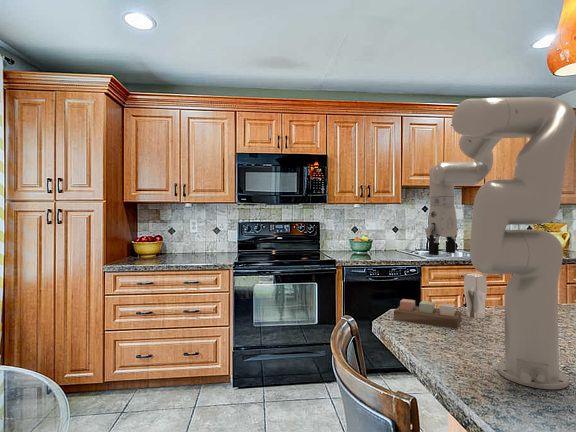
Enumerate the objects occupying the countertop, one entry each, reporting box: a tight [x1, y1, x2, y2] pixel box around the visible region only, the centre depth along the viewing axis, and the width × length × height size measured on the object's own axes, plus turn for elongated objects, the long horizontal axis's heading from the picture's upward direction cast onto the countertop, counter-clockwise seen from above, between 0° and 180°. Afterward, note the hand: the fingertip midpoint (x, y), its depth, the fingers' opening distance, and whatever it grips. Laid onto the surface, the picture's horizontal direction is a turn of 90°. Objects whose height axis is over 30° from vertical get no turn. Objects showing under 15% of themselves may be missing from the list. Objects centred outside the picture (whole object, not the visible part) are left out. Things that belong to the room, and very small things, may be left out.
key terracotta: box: [399, 298, 416, 311], centre depth 119 cm, size 4×4×3 cm
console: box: [393, 305, 462, 330], centre depth 116 cm, size 10×19×4 cm, turn 58°
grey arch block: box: [463, 272, 488, 319], centre depth 121 cm, size 7×7×15 cm
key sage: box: [418, 300, 436, 314], centre depth 116 cm, size 4×4×3 cm
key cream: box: [439, 302, 456, 316], centre depth 113 cm, size 4×4×3 cm
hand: (442, 253), depth 118 cm, fingers open, 9 cm apart
